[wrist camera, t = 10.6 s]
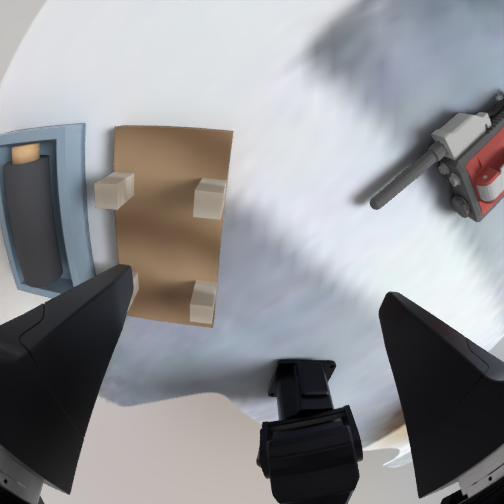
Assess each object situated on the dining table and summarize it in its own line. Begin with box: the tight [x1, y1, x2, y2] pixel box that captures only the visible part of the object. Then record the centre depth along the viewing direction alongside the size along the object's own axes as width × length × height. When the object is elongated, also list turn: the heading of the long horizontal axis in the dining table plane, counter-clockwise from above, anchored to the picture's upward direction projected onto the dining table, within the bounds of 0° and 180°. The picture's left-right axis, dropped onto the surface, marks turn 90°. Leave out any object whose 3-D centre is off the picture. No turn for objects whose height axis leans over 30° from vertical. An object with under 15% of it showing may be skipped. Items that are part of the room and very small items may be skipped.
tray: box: [0, 123, 95, 298], centre depth 19 cm, size 15×9×3 cm, turn 172°
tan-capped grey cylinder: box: [3, 142, 63, 288], centre depth 17 cm, size 11×4×4 cm, turn 172°
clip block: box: [94, 126, 233, 328], centre depth 19 cm, size 16×8×4 cm, turn 172°
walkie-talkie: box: [370, 99, 504, 222], centre depth 17 cm, size 9×4×20 cm
